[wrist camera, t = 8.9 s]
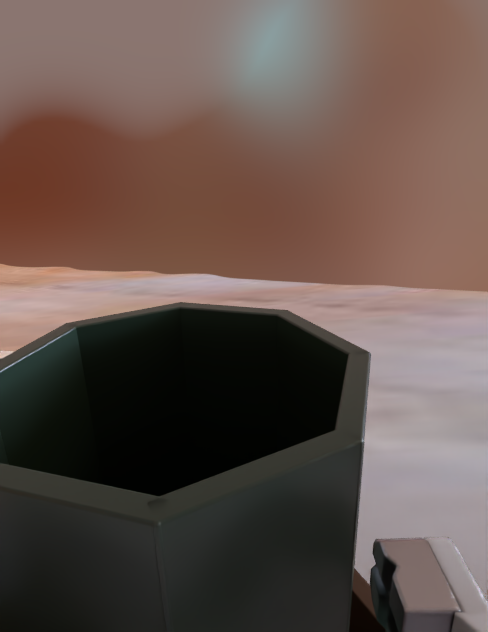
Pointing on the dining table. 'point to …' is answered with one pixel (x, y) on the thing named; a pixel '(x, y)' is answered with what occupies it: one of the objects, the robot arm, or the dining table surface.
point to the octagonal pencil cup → (181, 474)
